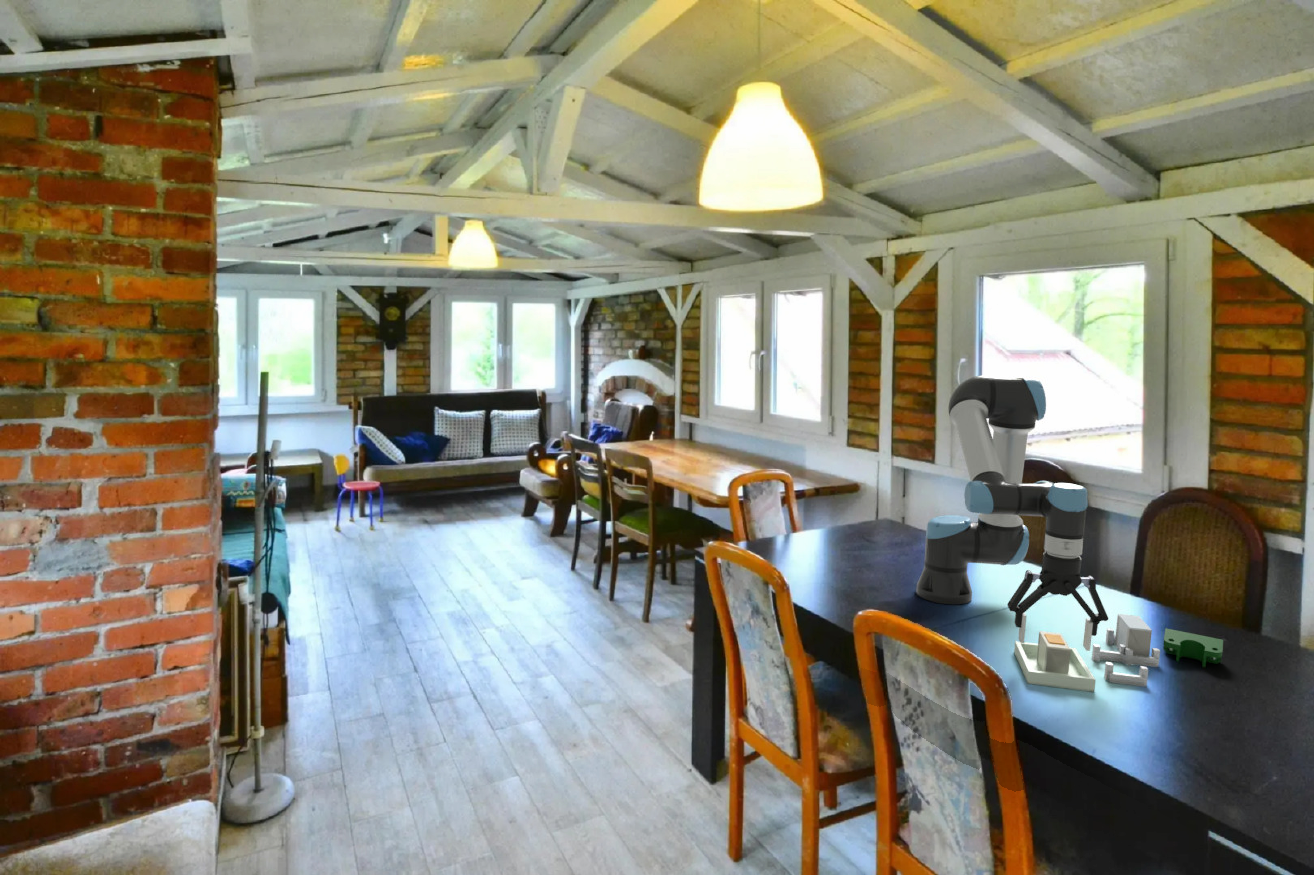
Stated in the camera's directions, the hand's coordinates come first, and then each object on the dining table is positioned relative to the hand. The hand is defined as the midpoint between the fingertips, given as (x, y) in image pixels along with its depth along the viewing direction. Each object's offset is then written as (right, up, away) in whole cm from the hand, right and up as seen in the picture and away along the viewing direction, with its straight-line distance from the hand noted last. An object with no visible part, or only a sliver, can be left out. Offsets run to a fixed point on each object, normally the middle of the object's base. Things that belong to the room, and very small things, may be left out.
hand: (1053, 644), depth 170 cm
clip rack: (+20, -6, +6) cm, 21 cm away
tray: (0, -6, 0) cm, 6 cm away
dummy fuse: (+24, -5, +10) cm, 27 cm away
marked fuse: (0, -6, 0) cm, 6 cm away
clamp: (+36, -6, +7) cm, 37 cm away
